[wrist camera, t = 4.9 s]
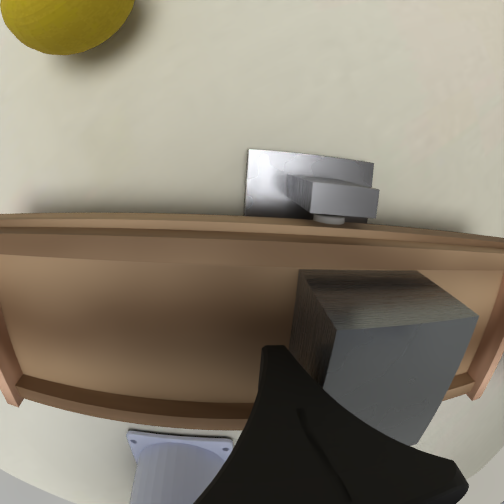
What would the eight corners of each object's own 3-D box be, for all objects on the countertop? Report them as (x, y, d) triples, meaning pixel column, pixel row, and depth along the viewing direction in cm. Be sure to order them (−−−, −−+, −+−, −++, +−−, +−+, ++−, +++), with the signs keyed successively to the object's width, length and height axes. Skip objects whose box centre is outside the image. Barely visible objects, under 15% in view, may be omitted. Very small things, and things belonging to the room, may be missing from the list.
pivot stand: (326, 386, 18) (348, 442, 14) (234, 389, 18) (238, 451, 13) (366, 162, 14) (423, 168, 9) (247, 149, 14) (258, 145, 9)
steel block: (381, 385, 13) (416, 443, 9) (281, 396, 12) (298, 468, 9) (416, 270, 11) (479, 315, 7) (299, 269, 11) (336, 329, 7)
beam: (452, 370, 16) (478, 400, 13) (33, 370, 13) (9, 406, 10) (497, 231, 13) (538, 249, 10) (-4, 207, 10) (-48, 224, 7)
